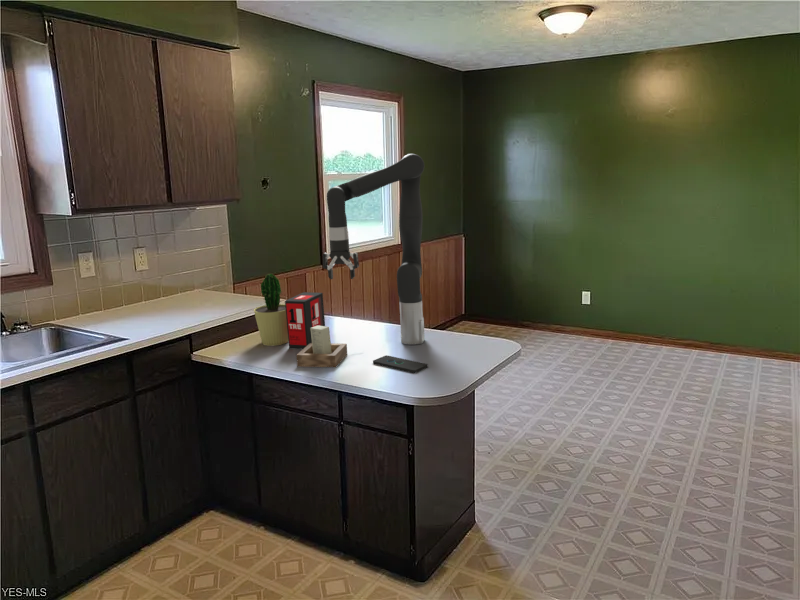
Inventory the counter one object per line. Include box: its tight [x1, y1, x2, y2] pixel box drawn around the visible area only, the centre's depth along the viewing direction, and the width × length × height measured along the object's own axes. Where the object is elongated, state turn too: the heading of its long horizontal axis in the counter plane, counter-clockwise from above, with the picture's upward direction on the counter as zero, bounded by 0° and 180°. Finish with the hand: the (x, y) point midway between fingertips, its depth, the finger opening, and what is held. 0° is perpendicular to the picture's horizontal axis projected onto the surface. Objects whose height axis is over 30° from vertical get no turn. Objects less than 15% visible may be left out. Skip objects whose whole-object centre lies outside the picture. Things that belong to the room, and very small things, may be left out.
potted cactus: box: [253, 272, 289, 347], centre depth 255 cm, size 15×15×30 cm
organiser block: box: [295, 342, 348, 368], centre depth 230 cm, size 15×15×4 cm
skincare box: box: [310, 325, 332, 354], centre depth 229 cm, size 6×4×12 cm
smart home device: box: [372, 355, 429, 374], centre depth 221 cm, size 8×2×20 cm
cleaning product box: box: [284, 291, 326, 350], centre depth 252 cm, size 16×9×20 cm, turn 162°
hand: (341, 278), depth 241 cm, fingers open, 8 cm apart
